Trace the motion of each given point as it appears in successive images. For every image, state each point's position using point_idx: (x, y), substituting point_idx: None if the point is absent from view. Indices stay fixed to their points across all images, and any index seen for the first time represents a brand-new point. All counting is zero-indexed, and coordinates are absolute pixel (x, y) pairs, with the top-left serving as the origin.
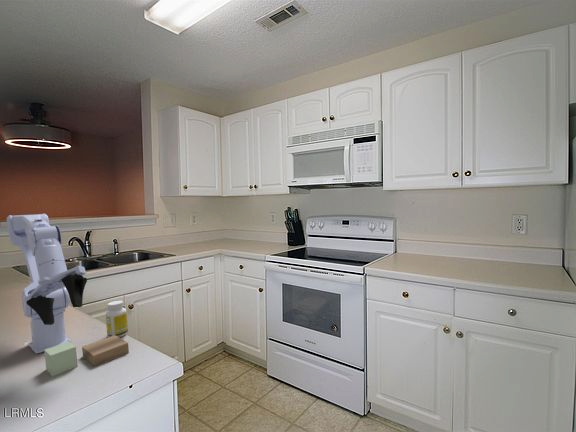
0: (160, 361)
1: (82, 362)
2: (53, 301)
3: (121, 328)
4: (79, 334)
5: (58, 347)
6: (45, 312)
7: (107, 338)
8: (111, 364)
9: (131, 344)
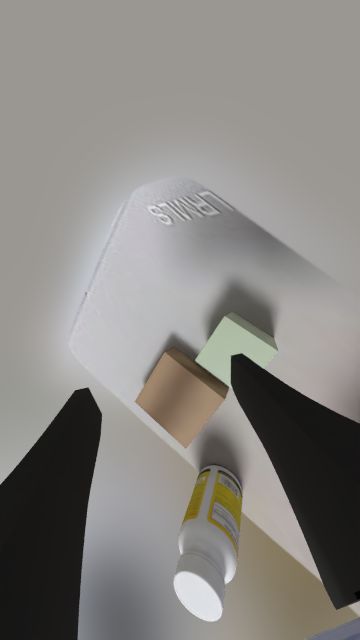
0: (83, 354)
1: None
2: (312, 555)
3: (195, 486)
4: None
5: None
6: (263, 409)
7: (191, 433)
8: (148, 350)
9: None
